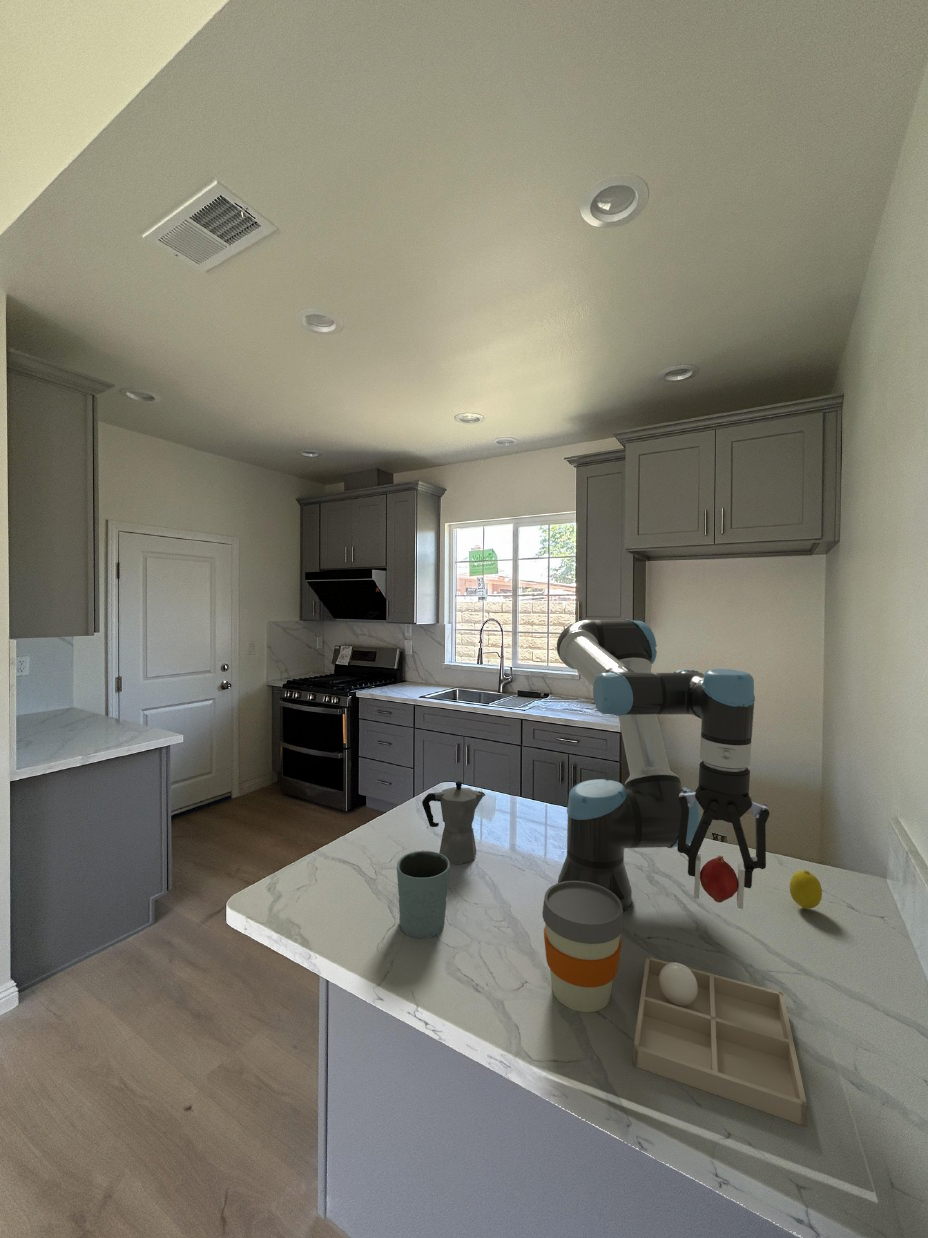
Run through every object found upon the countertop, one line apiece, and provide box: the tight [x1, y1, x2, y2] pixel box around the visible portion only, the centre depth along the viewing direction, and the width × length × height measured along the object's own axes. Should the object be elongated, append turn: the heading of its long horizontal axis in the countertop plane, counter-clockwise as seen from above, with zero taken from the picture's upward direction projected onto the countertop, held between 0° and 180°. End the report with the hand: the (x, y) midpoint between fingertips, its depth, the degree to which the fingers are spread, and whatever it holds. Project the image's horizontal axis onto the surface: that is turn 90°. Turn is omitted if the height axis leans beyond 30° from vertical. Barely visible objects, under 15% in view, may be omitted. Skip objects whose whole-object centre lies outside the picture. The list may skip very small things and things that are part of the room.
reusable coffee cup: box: [541, 881, 625, 1013], centre depth 85 cm, size 13×13×15 cm
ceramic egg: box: [659, 961, 698, 1006], centre depth 83 cm, size 6×6×6 cm
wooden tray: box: [632, 955, 808, 1127], centre depth 77 cm, size 20×20×3 cm
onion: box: [700, 855, 738, 903], centre depth 90 cm, size 6×6×8 cm
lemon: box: [789, 869, 823, 910], centre depth 109 cm, size 6×6×8 cm
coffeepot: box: [421, 781, 486, 865], centre depth 129 cm, size 15×9×18 cm, turn 103°
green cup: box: [396, 850, 451, 939], centre depth 102 cm, size 10×10×12 cm
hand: (717, 899), depth 90 cm, fingers closed on onion, 6 cm apart
